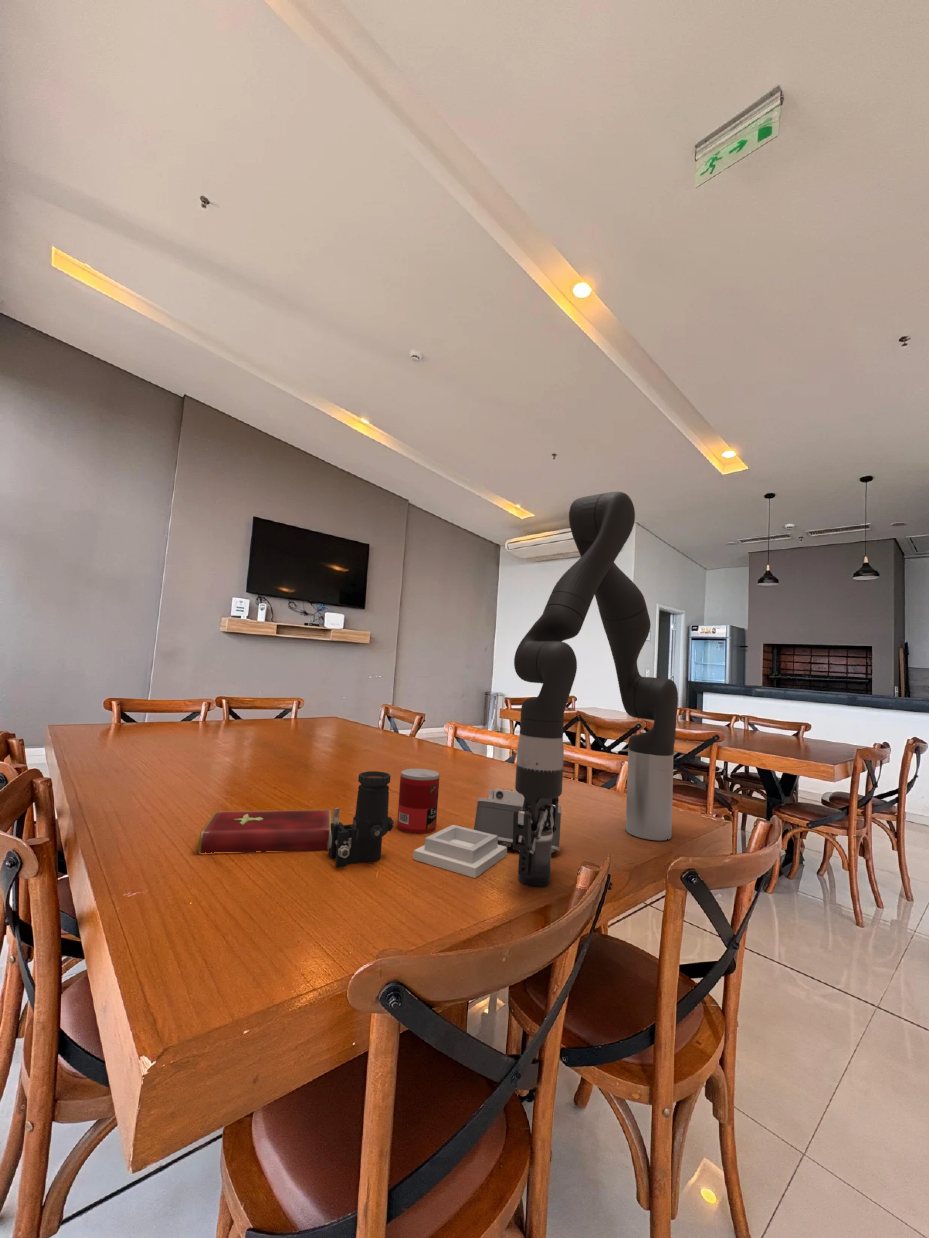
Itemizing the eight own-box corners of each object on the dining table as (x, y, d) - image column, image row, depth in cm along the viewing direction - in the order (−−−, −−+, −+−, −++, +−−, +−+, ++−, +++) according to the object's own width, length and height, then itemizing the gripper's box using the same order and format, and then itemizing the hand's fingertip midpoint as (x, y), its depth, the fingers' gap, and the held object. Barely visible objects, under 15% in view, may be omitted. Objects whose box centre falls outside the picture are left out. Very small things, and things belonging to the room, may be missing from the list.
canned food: (434, 835, 99) (438, 778, 100) (394, 832, 99) (398, 775, 100) (437, 823, 107) (440, 769, 108) (399, 820, 107) (403, 767, 108)
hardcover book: (330, 853, 88) (332, 828, 89) (197, 858, 83) (200, 831, 83) (329, 830, 100) (331, 808, 100) (212, 833, 94) (215, 809, 95)
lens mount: (449, 840, 97) (450, 821, 97) (506, 855, 91) (507, 835, 91) (413, 859, 87) (414, 838, 87) (475, 878, 81) (476, 855, 81)
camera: (560, 852, 91) (563, 792, 96) (471, 838, 93) (479, 780, 98) (555, 857, 99) (559, 802, 104) (474, 844, 101) (481, 790, 106)
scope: (333, 770, 88) (388, 768, 93) (326, 853, 87) (382, 846, 92) (345, 782, 81) (404, 778, 86) (338, 872, 80) (398, 863, 85)
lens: (525, 871, 85) (527, 822, 85) (554, 879, 82) (556, 828, 83) (512, 882, 80) (515, 830, 81) (543, 891, 78) (545, 837, 78)
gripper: (546, 774, 75) (540, 891, 73) (575, 761, 87) (571, 861, 86) (499, 766, 78) (493, 878, 77) (534, 754, 91) (529, 850, 89)
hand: (534, 868), depth 81 cm, fingers open, 7 cm apart
